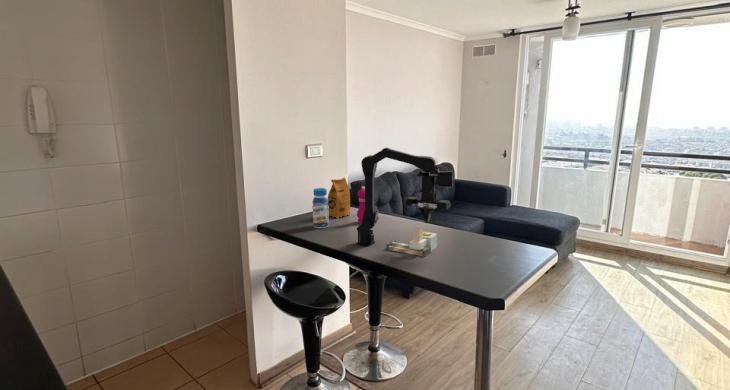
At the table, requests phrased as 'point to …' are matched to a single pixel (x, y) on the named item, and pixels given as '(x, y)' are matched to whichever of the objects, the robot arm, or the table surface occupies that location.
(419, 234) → the carriage
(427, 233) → the button
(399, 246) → the rail
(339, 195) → the coffee package
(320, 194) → the beverage bottle
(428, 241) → the button housing
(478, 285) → the table surface
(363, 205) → the pepper mill
